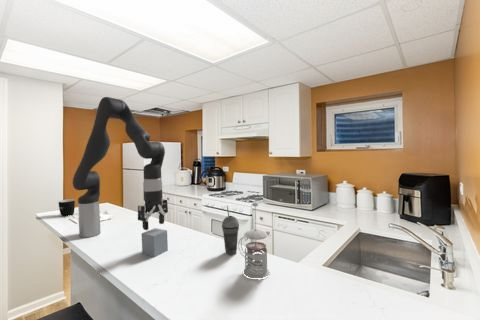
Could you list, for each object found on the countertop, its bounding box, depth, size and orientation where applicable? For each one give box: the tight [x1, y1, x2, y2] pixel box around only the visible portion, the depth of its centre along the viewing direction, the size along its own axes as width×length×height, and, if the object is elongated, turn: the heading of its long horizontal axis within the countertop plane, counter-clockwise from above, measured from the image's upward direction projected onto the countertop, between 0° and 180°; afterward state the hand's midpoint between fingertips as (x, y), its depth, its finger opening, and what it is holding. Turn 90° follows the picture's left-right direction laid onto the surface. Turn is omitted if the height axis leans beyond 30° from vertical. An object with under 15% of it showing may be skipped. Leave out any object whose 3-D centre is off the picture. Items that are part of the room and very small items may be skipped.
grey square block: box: [141, 227, 169, 258], centre depth 103 cm, size 7×7×9 cm
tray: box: [70, 209, 113, 225], centre depth 158 cm, size 20×28×4 cm
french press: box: [237, 202, 271, 278], centre depth 85 cm, size 10×12×25 cm
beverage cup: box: [221, 205, 240, 256], centre depth 101 cm, size 7×7×20 cm
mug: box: [58, 198, 76, 217], centre depth 164 cm, size 12×9×10 cm
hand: (153, 226), depth 103 cm, fingers open, 8 cm apart
